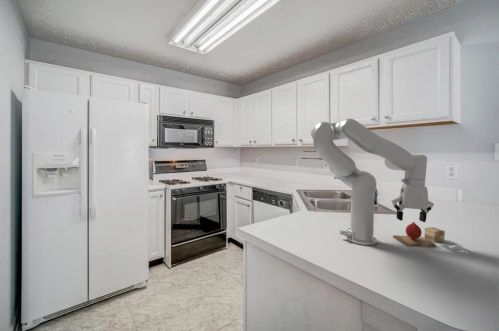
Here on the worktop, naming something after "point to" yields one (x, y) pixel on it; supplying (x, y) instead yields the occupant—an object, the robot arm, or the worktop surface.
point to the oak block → (434, 234)
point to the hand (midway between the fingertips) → (410, 220)
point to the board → (414, 241)
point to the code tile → (457, 249)
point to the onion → (413, 231)
